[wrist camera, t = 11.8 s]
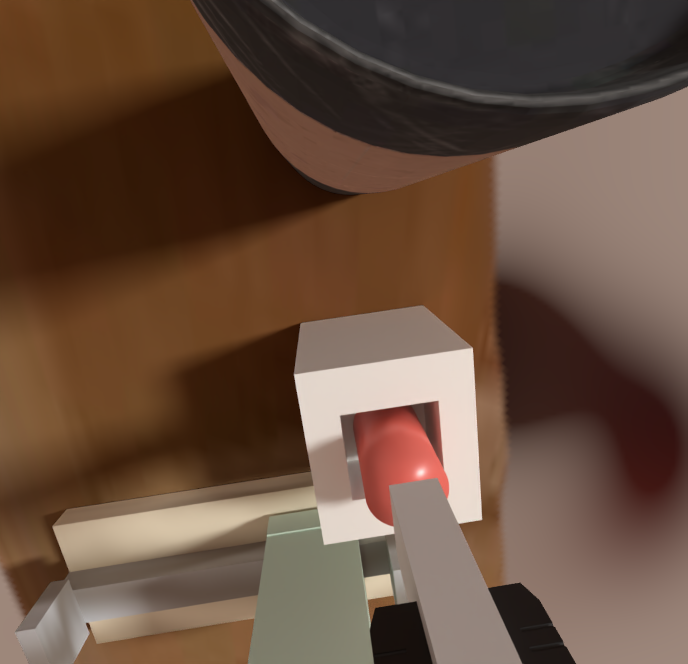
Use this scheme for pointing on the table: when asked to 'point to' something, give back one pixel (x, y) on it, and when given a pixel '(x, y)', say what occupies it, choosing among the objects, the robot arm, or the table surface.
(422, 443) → the button
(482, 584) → the robot arm
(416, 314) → the hollow box
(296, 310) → the table surface
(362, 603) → the carriage
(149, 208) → the table surface
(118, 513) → the rail
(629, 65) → the travel mug
